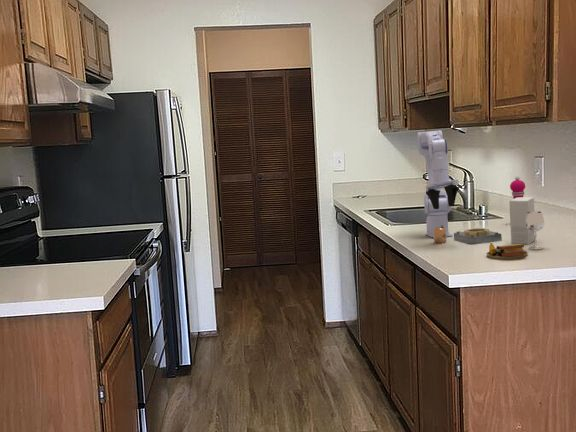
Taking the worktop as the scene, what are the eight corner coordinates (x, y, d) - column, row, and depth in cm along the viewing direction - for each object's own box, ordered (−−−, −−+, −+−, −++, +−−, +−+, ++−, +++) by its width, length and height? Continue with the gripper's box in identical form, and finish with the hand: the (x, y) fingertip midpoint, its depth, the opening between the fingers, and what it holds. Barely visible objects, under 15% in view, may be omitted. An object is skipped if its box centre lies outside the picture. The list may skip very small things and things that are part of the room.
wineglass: (540, 245, 202) (538, 210, 201) (548, 248, 197) (546, 212, 195) (523, 247, 202) (521, 212, 201) (531, 250, 197) (529, 214, 195)
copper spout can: (437, 244, 224) (436, 226, 223) (432, 242, 228) (431, 225, 228) (448, 242, 225) (447, 225, 224) (443, 241, 229) (442, 224, 228)
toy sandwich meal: (524, 251, 196) (524, 237, 196) (531, 260, 183) (530, 245, 183) (485, 253, 199) (484, 239, 199) (488, 262, 186) (487, 247, 186)
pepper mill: (530, 224, 249) (527, 176, 247) (512, 225, 251) (509, 177, 249) (527, 221, 256) (524, 175, 254) (509, 222, 258) (506, 176, 256)
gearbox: (450, 238, 234) (449, 229, 233) (479, 234, 236) (478, 225, 235) (471, 244, 217) (470, 234, 217) (501, 240, 219) (501, 230, 219)
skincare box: (518, 239, 217) (516, 197, 215) (537, 240, 213) (535, 196, 211) (510, 244, 211) (508, 200, 209) (529, 244, 206) (527, 199, 205)
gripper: (418, 174, 226) (421, 210, 224) (447, 167, 213) (451, 204, 212) (432, 175, 229) (435, 210, 228) (461, 167, 217) (464, 204, 216)
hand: (443, 207), depth 220 cm, fingers open, 7 cm apart
